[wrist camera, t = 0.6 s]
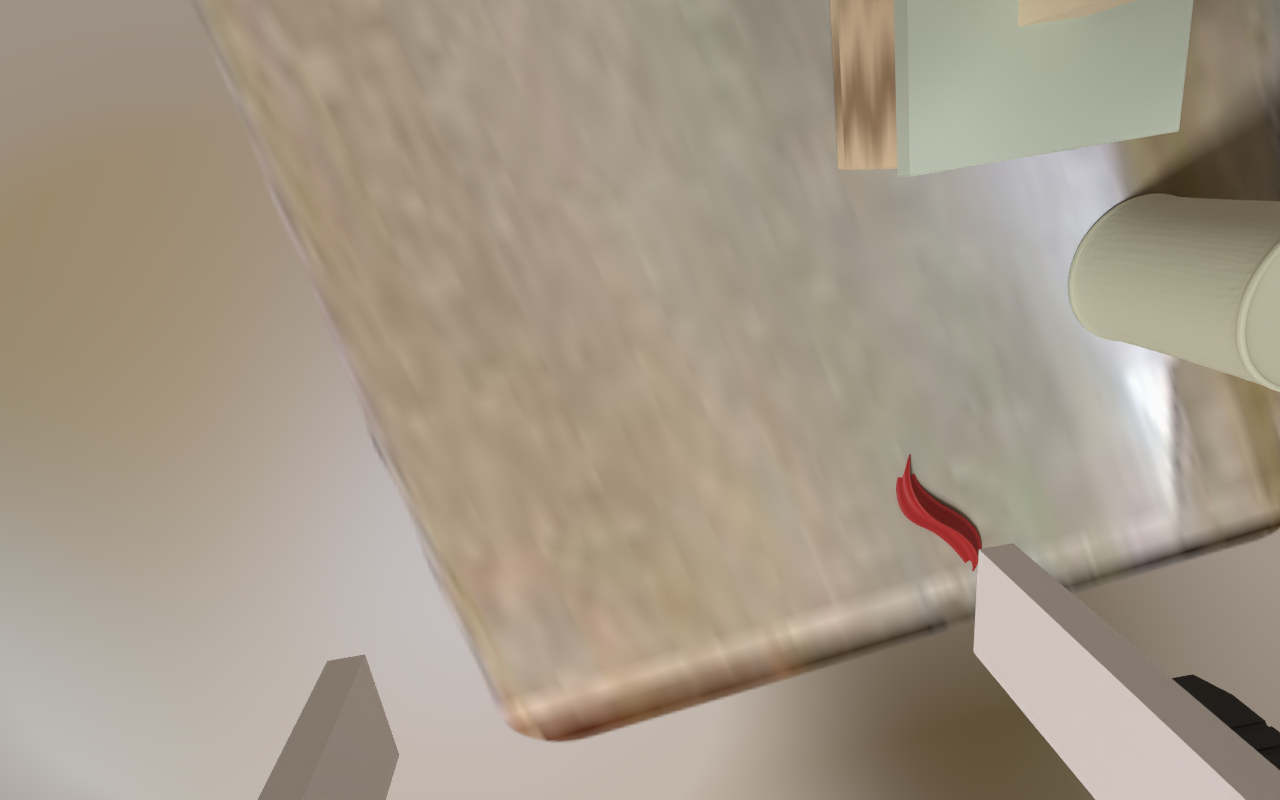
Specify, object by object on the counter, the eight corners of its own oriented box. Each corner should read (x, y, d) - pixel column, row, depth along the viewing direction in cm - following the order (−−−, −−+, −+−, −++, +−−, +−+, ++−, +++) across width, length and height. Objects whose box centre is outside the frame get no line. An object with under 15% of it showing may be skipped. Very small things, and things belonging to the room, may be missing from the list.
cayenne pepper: (878, 460, 45) (891, 472, 43) (941, 431, 45) (956, 442, 43) (928, 591, 49) (941, 607, 47) (985, 565, 49) (1001, 580, 47)
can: (1056, 345, 43) (1229, 407, 32) (1079, 198, 40) (1279, 207, 29) (1189, 334, 44) (1404, 391, 32) (1221, 188, 40) (1472, 194, 29)
